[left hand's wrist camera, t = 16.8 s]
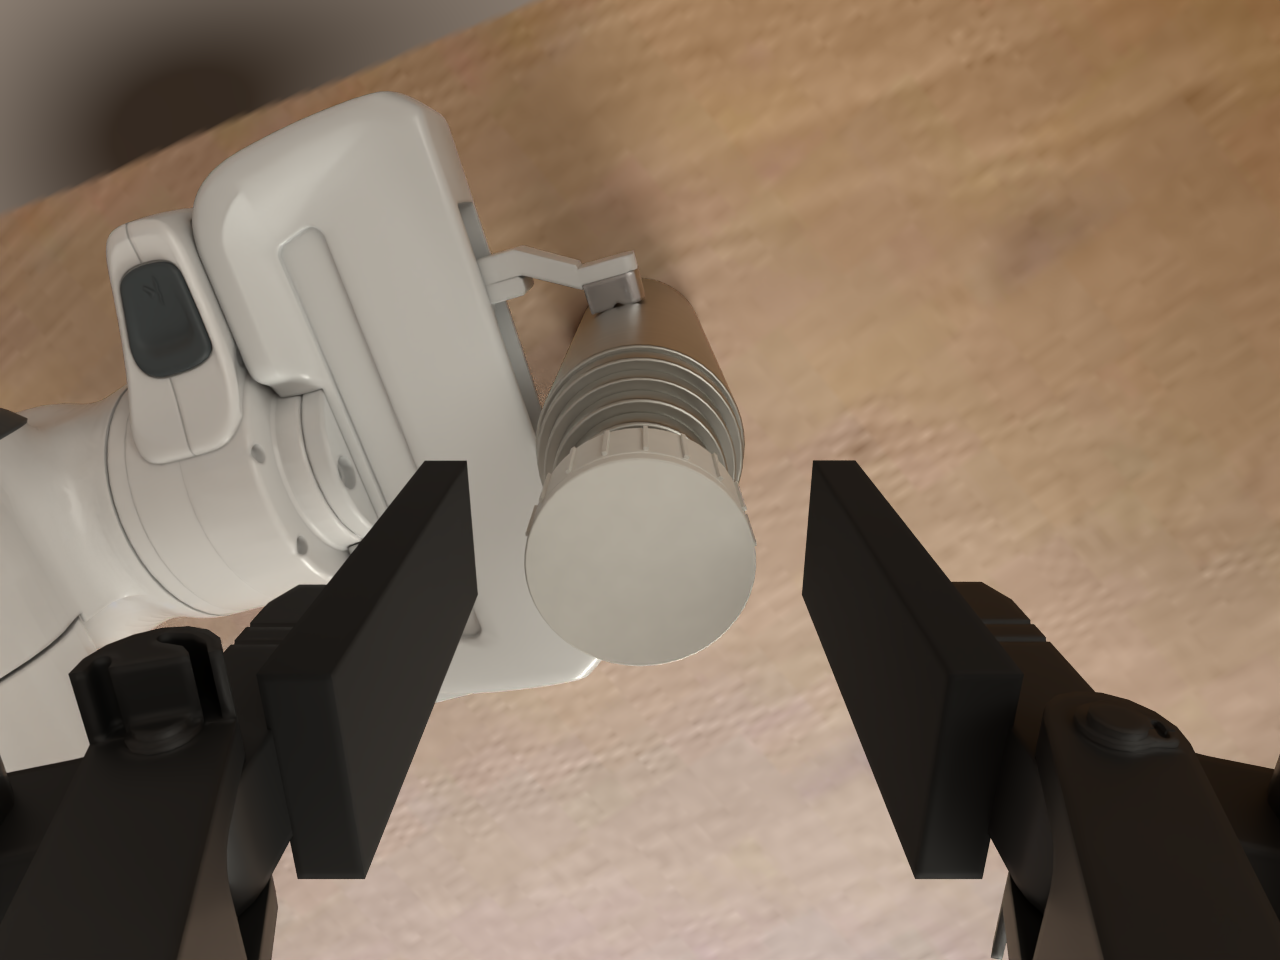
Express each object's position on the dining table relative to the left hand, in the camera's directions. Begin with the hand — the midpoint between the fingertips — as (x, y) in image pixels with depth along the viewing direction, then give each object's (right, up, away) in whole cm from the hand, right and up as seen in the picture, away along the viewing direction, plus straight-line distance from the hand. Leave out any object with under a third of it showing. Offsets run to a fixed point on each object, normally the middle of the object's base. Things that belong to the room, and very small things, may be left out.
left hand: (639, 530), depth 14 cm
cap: (0, 0, -1) cm, 1 cm away
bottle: (0, +7, +18) cm, 19 cm away
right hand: (+1, +5, +12) cm, 13 cm away
